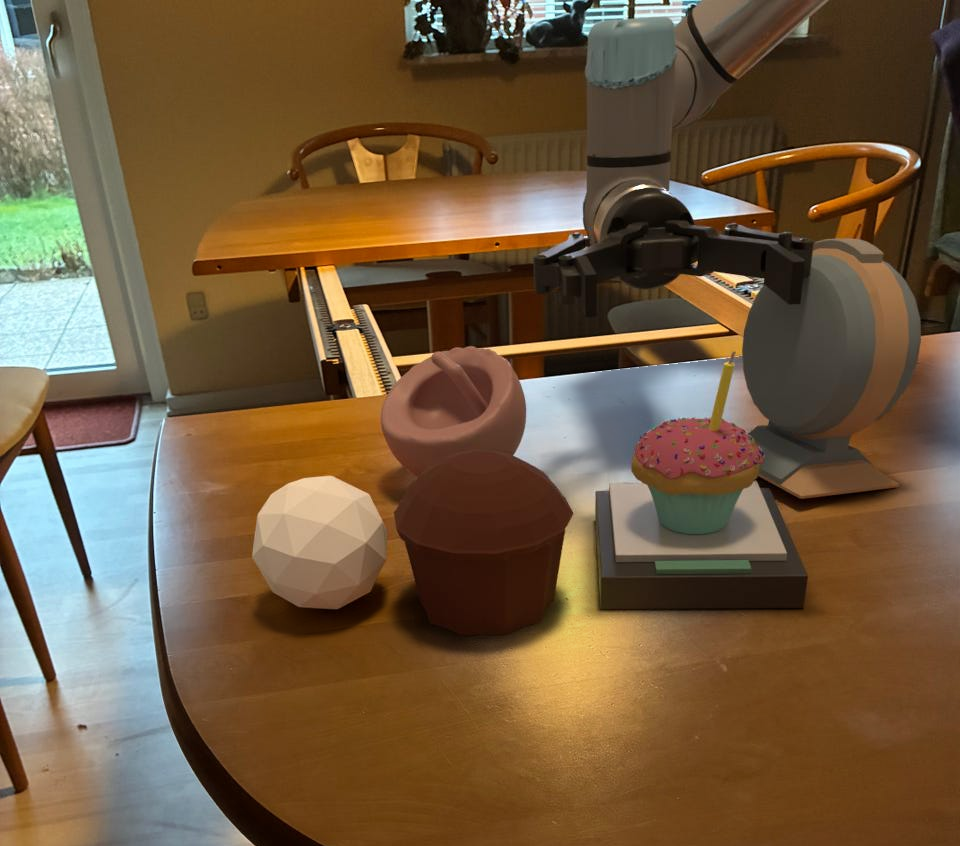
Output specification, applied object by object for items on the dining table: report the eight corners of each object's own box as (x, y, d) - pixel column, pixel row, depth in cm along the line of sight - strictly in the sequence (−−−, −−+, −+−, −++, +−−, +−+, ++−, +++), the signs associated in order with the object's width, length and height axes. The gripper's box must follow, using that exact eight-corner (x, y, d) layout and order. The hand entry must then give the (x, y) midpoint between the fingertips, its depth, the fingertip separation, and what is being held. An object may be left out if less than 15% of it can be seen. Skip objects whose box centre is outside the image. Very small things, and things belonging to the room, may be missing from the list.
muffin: (373, 593, 68) (356, 456, 62) (506, 548, 72) (501, 417, 67) (463, 669, 59) (453, 517, 54) (608, 612, 64) (611, 468, 59)
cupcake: (773, 510, 69) (793, 337, 62) (725, 559, 63) (742, 374, 57) (661, 487, 73) (669, 324, 67) (607, 531, 67) (610, 356, 61)
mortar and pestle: (359, 492, 83) (342, 356, 77) (445, 447, 91) (436, 321, 85) (473, 522, 77) (464, 377, 71) (554, 470, 85) (553, 337, 79)
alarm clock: (907, 491, 78) (974, 253, 69) (809, 503, 74) (866, 254, 65) (791, 436, 89) (836, 226, 80) (701, 445, 85) (738, 226, 77)
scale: (766, 516, 75) (770, 480, 73) (803, 608, 63) (809, 567, 61) (595, 519, 76) (595, 483, 74) (600, 609, 64) (601, 569, 63)
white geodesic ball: (425, 590, 64) (380, 538, 74) (364, 467, 59) (325, 430, 70) (306, 655, 63) (278, 594, 73) (235, 535, 58) (216, 488, 69)
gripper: (786, 272, 85) (874, 335, 66) (498, 290, 85) (507, 358, 67) (796, 176, 81) (892, 216, 63) (494, 196, 81) (502, 241, 63)
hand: (693, 289), depth 65 cm, fingers open, 13 cm apart
